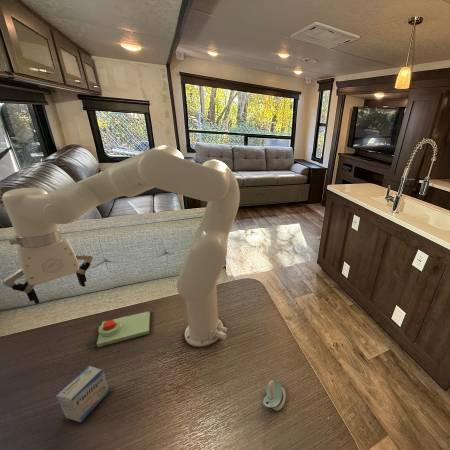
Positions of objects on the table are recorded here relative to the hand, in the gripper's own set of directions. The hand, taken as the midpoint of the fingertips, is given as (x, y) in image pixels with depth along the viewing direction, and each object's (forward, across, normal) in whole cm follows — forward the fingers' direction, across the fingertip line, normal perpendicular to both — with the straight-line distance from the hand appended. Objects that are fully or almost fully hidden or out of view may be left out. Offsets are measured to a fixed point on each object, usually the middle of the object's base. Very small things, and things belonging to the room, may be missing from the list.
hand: (60, 292), depth 69 cm
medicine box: (+22, -4, -21) cm, 31 cm away
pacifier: (+22, +27, -57) cm, 67 cm away
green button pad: (+22, +12, -2) cm, 25 cm away
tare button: (+19, +8, 0) cm, 21 cm away
